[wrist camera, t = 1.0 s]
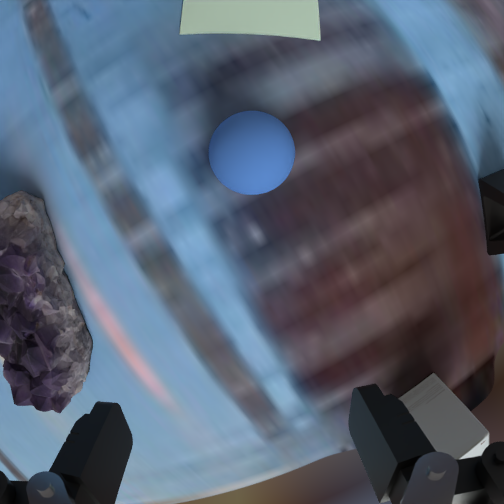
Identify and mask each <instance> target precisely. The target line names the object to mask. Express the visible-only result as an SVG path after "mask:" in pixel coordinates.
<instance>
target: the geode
mask: <svg viewBox="0 0 504 504" xmlns="http://www.w3.org/2000/svg"><path fill="white" fill-rule="evenodd" d="M64 264H65V263H64V261H63V260H62V258H61V256H60V254H59V253H58V251H57V248H56V241H55V237H54V234H53V230H52V227H51V224H50V221H49V218H48V217H47V215H46V211H45V206H44V202H43V199H40V198H38V197H35V196H33V195H31V194H29V193H28V192H26V191H23V190H21V191H18V192H16V193H14V194H12V195H8V196H7V197H5V198H4V199H3V200H1V201H0V355H1V357H3V358H4V359H5V360H4V364H3V367H4V370H3V375H4V377H5V379H6V380H7V381H8V383H9V384H10V386H11V390H12V395H13V400H14V404H16V405H17V406H28V405H33V406H34V407H35V408H36V409H37V410H39V411H43V412H46V411H50V410H54V411H55V412H57V413H61V412H62V410H63V409H64V408H65V407H66V406H67V405H68V404H69V403H70V402H71V398H72V397H73V396H74V395H75V394H77V393H78V392H80V391H81V390H82V387H83V382H85V381H86V376H87V374H88V372H89V369H90V359H91V353H92V349H93V341H92V338H91V336H90V334H89V332H88V330H87V328H86V324H85V322H84V320H83V317H82V315H81V312H80V310H79V308H78V306H77V303H76V300H75V298H74V292H73V290H72V287H71V285H70V283H69V280H68V277H67V275H66V274H65V272H64V271H63V268H64Z"/></svg>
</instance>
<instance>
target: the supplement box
mask: <svg viewBox="0 0 504 504" xmlns="http://www.w3.org/2000/svg"><path fill="white" fill-rule="evenodd" d="M398 399H399V400H401V401H402V402H403V403H404V405H405V406H406V408H407V409H408V410H409V413H411V415H412V416H413V418H414V419H415V421H416V422H417V424H418V425H419V426H420V428H421V429H422V431H423V432H424V434H425V435H426V437H427V438H428V440H429V441H430V443H431V444H432V446H433V447H434V449H435V450H436V451H437V452H443V453H447V454H449V455H451V456H452V457H454V459H465V458H471V457H476V456H481V455H482V453H483V451H484V450H485V448H486V447H487V446H488V445H489V432H488V430H487V429H486V428H485V427H484V426H483V425H482V424H481V423H480V422H479V421H478V420H477V418H476V417H475V416H474V415H473V414H472V413H471V412H470V411H469V409H468V408H467V407H466V406H465V405H464V404H463V403H462V402H461V401H460V400H459V399H458V398H457V397H456V395H455V394H454V393H453V392H452V391H451V390H450V389H449V388H448V387H447V386H446V385H445V384H444V383H443V382H442V381H441V380H440V379H439V377H438V376H437V375H436V374H435V373H433V374H431V375H430V376H429V377H427V378H426V379H425V380H423V381H422V382H421V383H419V384H418V385H416V386H415V387H414V388H412V389H411V390H410V391H408V392H407V393H405V394H404V395H403V396H401V397H400V398H398Z"/></svg>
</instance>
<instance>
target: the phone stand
mask: <svg viewBox="0 0 504 504" xmlns="http://www.w3.org/2000/svg"><path fill="white" fill-rule="evenodd" d="M478 183H479V188H480V194H481V200H482V207H483V214H484V217H485V220H484V221H485V230H486V240H487V252H488V254H489V255H497V254H504V169H503V170H501V171H498V172H496V173H494V174H491V175H489V176H486V177H484V178H482V179H479V181H478Z"/></svg>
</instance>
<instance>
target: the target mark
mask: <svg viewBox="0 0 504 504" xmlns="http://www.w3.org/2000/svg"><path fill="white" fill-rule="evenodd" d="M219 33H225V34H258V35H273V36H284V37H294V38H303V39H310V40H317V41H320V23H319V9H318V0H184V1H183V9H182V17H181V26H180V35H186V34H219Z"/></svg>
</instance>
